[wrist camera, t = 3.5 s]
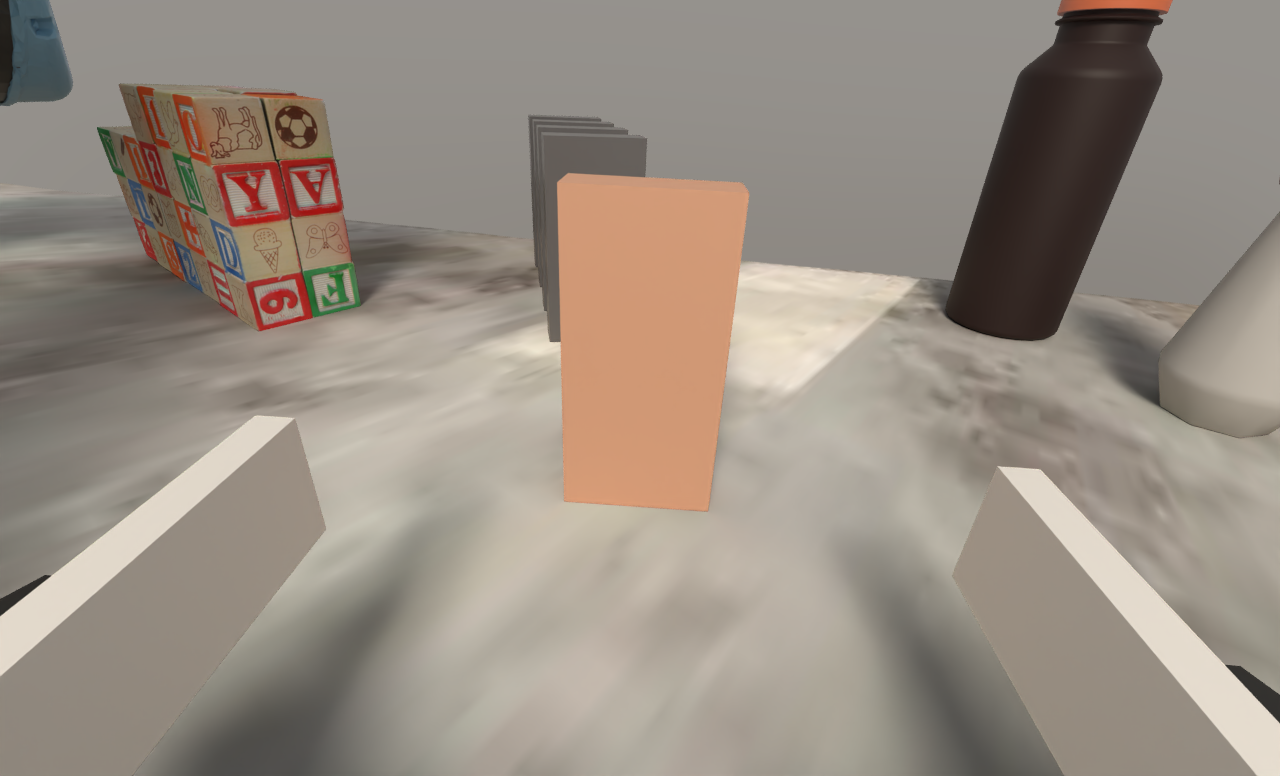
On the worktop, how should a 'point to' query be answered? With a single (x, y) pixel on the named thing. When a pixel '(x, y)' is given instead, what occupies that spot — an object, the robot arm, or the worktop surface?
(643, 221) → the orange domino
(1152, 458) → the worktop surface
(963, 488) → the worktop surface
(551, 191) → the domino
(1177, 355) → the salt shaker
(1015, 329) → the vinegar
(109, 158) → the stack of blocks
